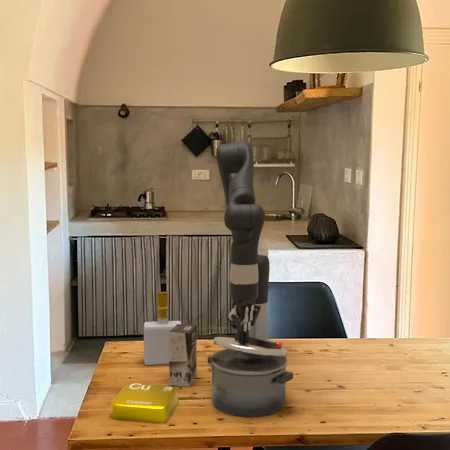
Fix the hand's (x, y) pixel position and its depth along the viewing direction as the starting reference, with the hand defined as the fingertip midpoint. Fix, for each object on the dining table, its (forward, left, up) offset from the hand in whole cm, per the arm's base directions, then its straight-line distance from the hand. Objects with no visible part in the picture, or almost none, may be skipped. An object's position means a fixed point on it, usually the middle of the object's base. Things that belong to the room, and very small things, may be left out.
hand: (243, 343), depth 161 cm
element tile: (+19, -18, -18) cm, 31 cm away
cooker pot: (-3, 0, -17) cm, 17 cm away
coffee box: (-3, -24, -17) cm, 30 cm away
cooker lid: (-3, 0, -2) cm, 4 cm away
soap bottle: (-11, -40, -17) cm, 45 cm away
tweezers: (-15, -19, -18) cm, 30 cm away
